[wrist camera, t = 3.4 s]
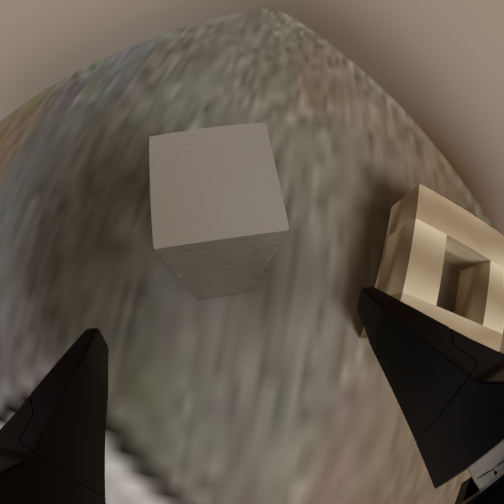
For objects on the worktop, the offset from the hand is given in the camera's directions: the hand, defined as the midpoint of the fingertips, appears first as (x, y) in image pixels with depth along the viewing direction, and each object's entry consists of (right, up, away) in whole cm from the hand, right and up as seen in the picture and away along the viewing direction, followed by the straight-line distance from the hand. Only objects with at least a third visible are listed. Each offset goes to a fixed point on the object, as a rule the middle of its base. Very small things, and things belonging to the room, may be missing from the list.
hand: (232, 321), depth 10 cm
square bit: (-2, +1, +11) cm, 11 cm away
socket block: (+15, -1, +12) cm, 20 cm away
